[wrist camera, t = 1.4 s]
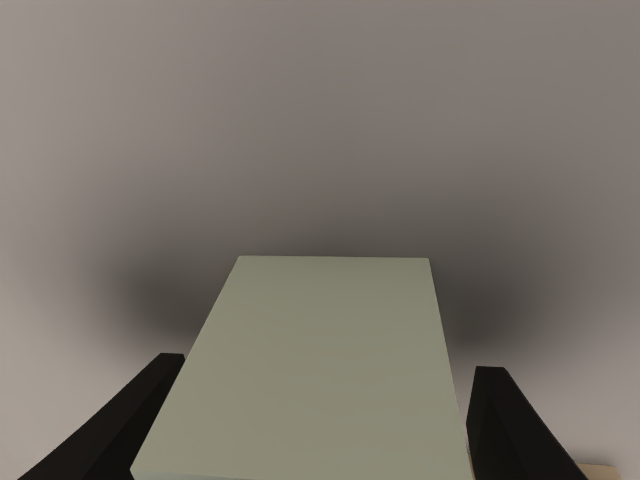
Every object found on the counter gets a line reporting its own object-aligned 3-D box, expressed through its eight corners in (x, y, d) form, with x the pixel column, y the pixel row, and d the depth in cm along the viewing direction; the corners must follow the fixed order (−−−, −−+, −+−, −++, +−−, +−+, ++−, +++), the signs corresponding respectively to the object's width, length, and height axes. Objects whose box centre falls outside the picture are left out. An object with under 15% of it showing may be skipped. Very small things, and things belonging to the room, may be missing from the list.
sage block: (428, 257, 11) (476, 497, 6) (416, 390, 13) (443, 640, 8) (239, 254, 11) (129, 468, 6) (262, 382, 14) (197, 610, 9)
